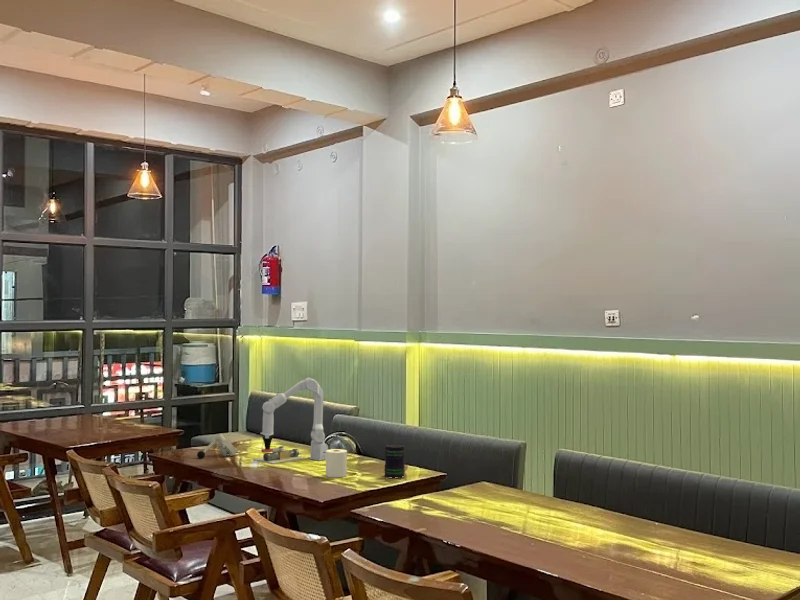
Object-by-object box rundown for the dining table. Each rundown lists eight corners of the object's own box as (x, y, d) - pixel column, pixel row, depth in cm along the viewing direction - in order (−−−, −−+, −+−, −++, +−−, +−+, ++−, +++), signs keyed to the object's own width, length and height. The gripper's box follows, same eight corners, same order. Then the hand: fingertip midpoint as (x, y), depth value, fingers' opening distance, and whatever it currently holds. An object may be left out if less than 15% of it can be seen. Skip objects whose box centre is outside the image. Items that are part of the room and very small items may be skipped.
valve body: (300, 458, 419) (300, 449, 419) (269, 462, 403) (269, 453, 404) (292, 456, 423) (292, 448, 423) (261, 461, 408) (262, 452, 408)
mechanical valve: (240, 451, 421) (223, 431, 416) (216, 475, 412) (199, 455, 407) (233, 450, 429) (216, 430, 425) (209, 473, 420) (192, 454, 416)
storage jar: (380, 476, 374) (380, 445, 375) (395, 473, 381) (396, 443, 381) (393, 479, 367) (393, 447, 367) (408, 477, 373) (409, 446, 374)
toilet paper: (350, 475, 375) (351, 450, 375) (337, 478, 366) (338, 453, 367) (334, 472, 381) (334, 448, 381) (321, 476, 372) (321, 450, 372)
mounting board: (304, 458, 418) (304, 457, 418) (272, 463, 401) (272, 462, 401) (285, 454, 428) (285, 453, 428) (253, 459, 412) (253, 458, 412)
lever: (282, 449, 417) (282, 445, 417) (287, 450, 413) (287, 446, 413) (260, 451, 408) (260, 448, 408) (264, 453, 404) (264, 449, 405)
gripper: (261, 422, 417) (260, 447, 417) (259, 426, 403) (258, 452, 403) (274, 422, 418) (273, 447, 418) (273, 426, 404) (272, 452, 403)
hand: (267, 449), depth 410 cm, fingers closed, pressing on lever
